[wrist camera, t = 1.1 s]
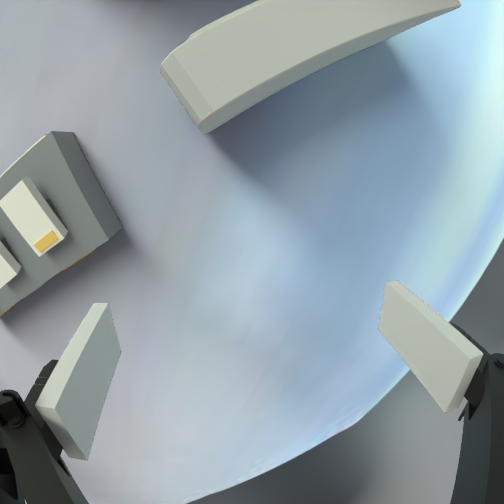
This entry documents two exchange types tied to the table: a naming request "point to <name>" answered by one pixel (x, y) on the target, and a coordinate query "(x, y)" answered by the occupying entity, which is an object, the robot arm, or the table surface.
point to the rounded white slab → (279, 49)
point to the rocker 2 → (33, 216)
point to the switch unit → (63, 205)
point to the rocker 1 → (7, 266)
